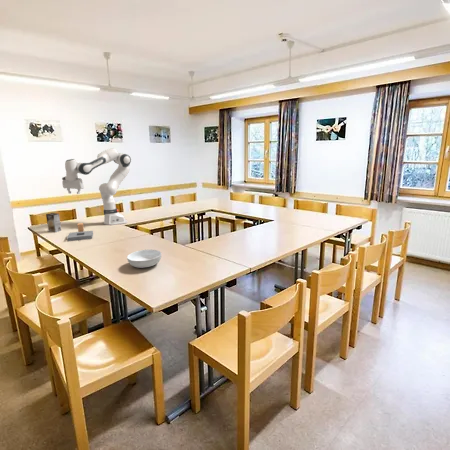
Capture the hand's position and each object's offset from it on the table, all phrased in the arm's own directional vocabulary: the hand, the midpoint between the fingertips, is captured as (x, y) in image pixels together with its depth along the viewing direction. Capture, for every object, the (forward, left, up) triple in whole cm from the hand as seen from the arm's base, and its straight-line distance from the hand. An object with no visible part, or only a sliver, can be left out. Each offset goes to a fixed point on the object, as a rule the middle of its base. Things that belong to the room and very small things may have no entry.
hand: (74, 193), depth 266 cm
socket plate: (-4, +29, -33) cm, 45 cm away
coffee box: (+20, -3, -33) cm, 39 cm away
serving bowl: (-48, +112, -34) cm, 127 cm away
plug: (-3, +12, -33) cm, 36 cm away
